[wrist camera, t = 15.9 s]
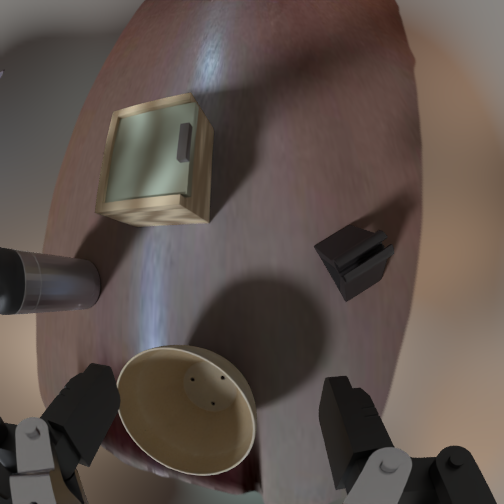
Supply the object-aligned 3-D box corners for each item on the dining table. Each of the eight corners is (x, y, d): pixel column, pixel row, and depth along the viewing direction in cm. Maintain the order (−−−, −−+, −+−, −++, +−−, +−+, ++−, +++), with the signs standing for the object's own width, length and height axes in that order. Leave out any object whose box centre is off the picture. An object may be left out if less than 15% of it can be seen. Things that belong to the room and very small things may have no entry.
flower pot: (174, 312, 42) (130, 321, 30) (286, 357, 38) (279, 387, 26) (147, 404, 41) (107, 432, 29) (245, 449, 38) (226, 494, 26)
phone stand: (313, 246, 39) (318, 231, 28) (349, 225, 39) (367, 202, 27) (345, 302, 38) (363, 310, 26) (380, 279, 37) (410, 278, 25)
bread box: (136, 227, 45) (92, 211, 33) (146, 140, 46) (111, 110, 35) (213, 222, 42) (182, 202, 31) (217, 129, 44) (193, 89, 32)
